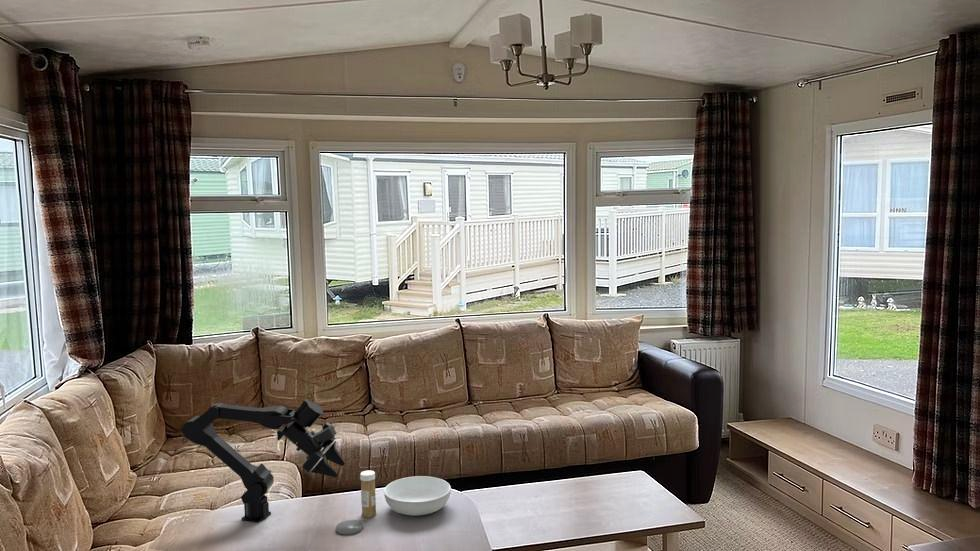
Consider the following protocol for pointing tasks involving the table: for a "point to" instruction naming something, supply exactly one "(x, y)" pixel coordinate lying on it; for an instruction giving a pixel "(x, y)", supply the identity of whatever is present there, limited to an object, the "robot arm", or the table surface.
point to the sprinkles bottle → (368, 493)
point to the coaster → (349, 527)
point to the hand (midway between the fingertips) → (340, 470)
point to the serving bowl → (417, 495)
